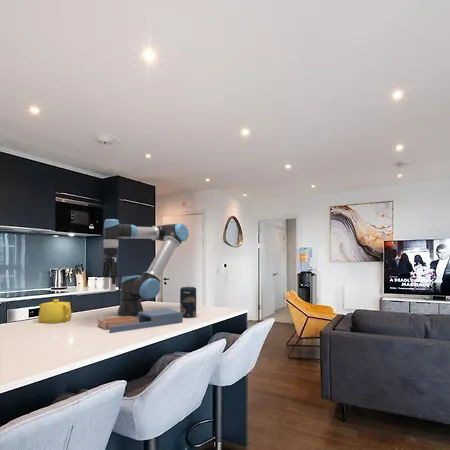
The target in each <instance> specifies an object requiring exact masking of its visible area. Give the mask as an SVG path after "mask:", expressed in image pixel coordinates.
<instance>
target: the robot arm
mask: <svg viewBox="0 0 450 450" xmlns="http://www.w3.org/2000/svg"><path fill="white" fill-rule="evenodd" d="M189 237H190V235H189V229H188V227H187V225H186V224H184V223H178V222H177V223H173V224H172V223H169V224H168V223H167V224H162V225H152V226H136V225H135V224H128V223H127V224H126V223H120V221H119V219H115V218H106V219H105V220H104V223H103V241H102V243H103V250H102V252H103V256H106V257H105V258H104V257H103V263H102V277H103V290H104V291H105V290H109V291H110V292H112V291H117V290H116V287H117V286H116V285H117V284H116V283H117V281H116V280H117V278H118V277H119V267H118V261H119V259H118V258H117V257H116V255H117V256H118V254H119V248H118V247H119V239H149V240H152V241H158V242H163V243H162V244H161V246H160V248H159V250H158V252H157V253H156V254H155V257H154V258H153V259H152V260H153V261H151V264H150V266H149V267H148V269H147V271H143V273H142V274H141V275H128V276H123V277H122V278H121V281H120V283H121V284H120V286H121V287H120V288H121V289H120V302H119V303H120V304H119V306H118V309H117V316H119V317H123V316H130V317H133V316H138V312H144V308H143V305H142V302H141V301H142V299H145V300H147V299H150V300H151V299H153V298H155V297H157V296H158V295H159V293H160V290H161V283H160V282H161V279H160V278H161V276H162V274H163V272H164V271H165V269H166V267H167V265H168V263H169V261H170V260H171V258H172V256H173V254H174V253H175V251H176V248H179V247H180V246H181V244H182V242H186V241H187V240H188V238H189Z"/></svg>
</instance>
